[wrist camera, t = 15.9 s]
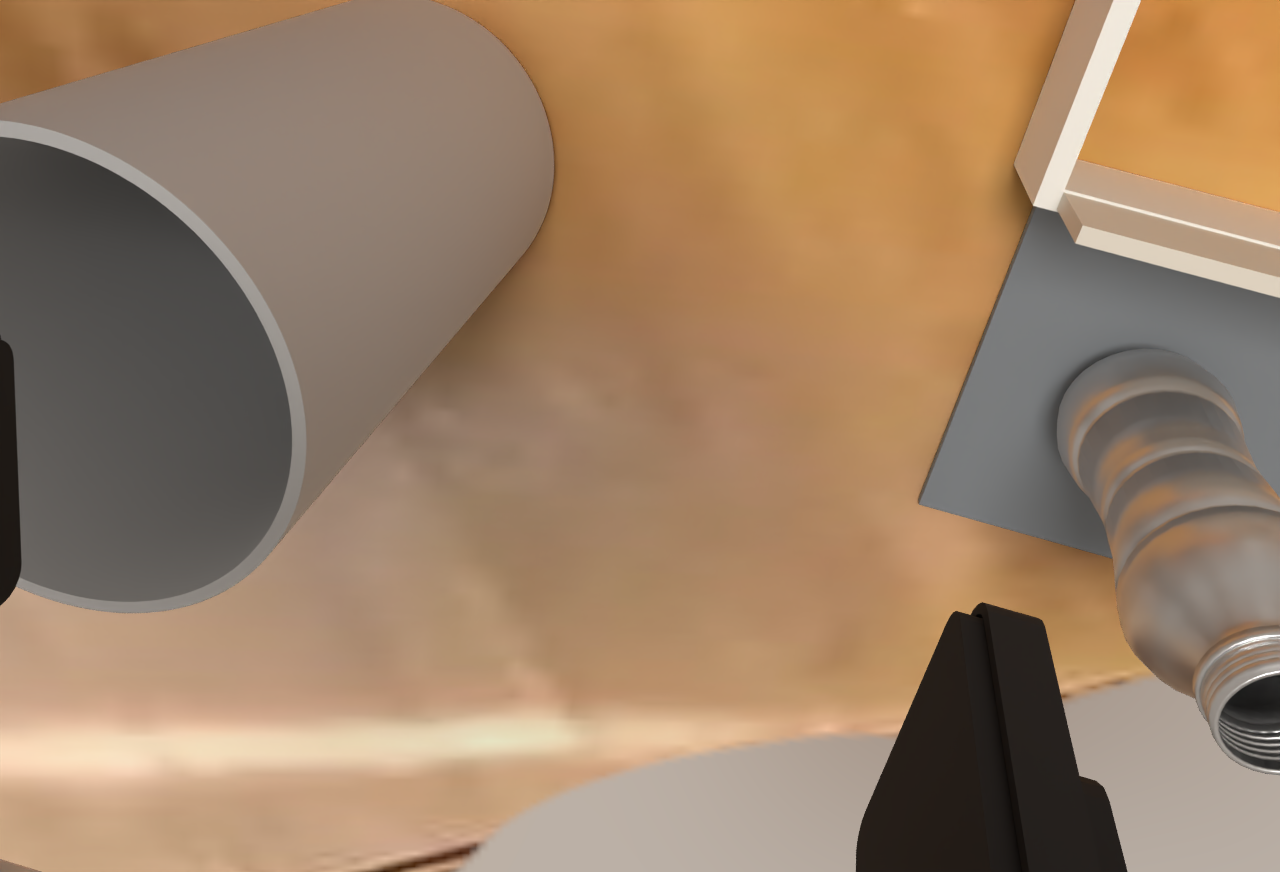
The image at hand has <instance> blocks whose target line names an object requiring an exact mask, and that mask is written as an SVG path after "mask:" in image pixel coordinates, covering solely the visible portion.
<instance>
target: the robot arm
mask: <svg viewBox="0 0 1280 872" xmlns="http://www.w3.org/2000/svg"><path fill="white" fill-rule="evenodd" d="M21 565H22V559H21V533H20V507H19V481H18V455H17V429H16V403H15V377H14V357H13V351H12V349H11V347H10V345H9V344H8V343H7V342H5V341H4V340H1V335H0V605H2V604H3V603H4V602H5V601H6V600H7V599H8V597H9V596H10V595H11V593H12V592H13V590H14V589H15V587H16V584H17V582H18V580H19V577H20V573H21ZM0 872H40V871H37V870H34V869H31V868H27V867H24V866H21V865H18V864H14V863H11V862H8V861H5V860H1V859H0ZM856 872H1127V869H1126V864H1125V860H1124V856H1123V853H1122V849H1121V845H1120V841H1119V837H1118V833H1117V829H1116V825H1115V821H1114V817H1113V813H1112V809H1111V806H1110V802H1109V799H1108V797H1107V794H1106V792H1105V789H1104V787H1103V786H1101V785H1100V784H1099V783H1098V782H1097V781H1095V780H1091V779H1088V778H1084V777H1081V776H1079V772H1078V768H1077V764H1076V760H1075V755H1074V751H1073V747H1072V742H1071V738H1070V734H1069V729H1068V725H1067V720H1066V716H1065V712H1064V707H1063V703H1062V699H1061V694H1060V690H1059V686H1058V681H1057V677H1056V673H1055V668H1054V664H1053V659H1052V655H1051V651H1050V646H1049V642H1048V638H1047V633H1046V629H1045V626H1044V623H1043V621H1042V620H1040V619H1039V618H1036V617H1032V616H1029V615H1025V614H1022V613H1018V612H1014V611H1011V610H1007V609H1004V608H1000V607H997V606H993V605H990V604H986V603H983V602H982V603H980V604H978V605H977V606H976V607H975V609H974V610H973V611H972V613H971V615H969V614H965V613H962V612H958V611H955V612H953V614H952V615H951V616H950V618H949V620H948V622H947V624H946V626H945V628H944V630H943V633H942V635H941V637H940V640H939V642H938V644H937V647H936V649H935V651H934V654H933V656H932V658H931V661H930V663H929V665H928V668H927V670H926V672H925V674H924V677H923V679H922V681H921V684H920V686H919V688H918V691H917V693H916V695H915V698H914V700H913V702H912V705H911V707H910V709H909V712H908V714H907V716H906V719H905V721H904V723H903V725H902V728H901V730H900V732H899V735H898V737H897V739H896V742H895V744H894V747H893V749H892V751H891V753H890V756H889V758H888V760H887V763H886V765H885V767H884V769H883V772H882V774H881V776H880V779H879V781H878V783H877V786H876V788H875V790H874V793H873V795H872V797H871V800H870V802H869V804H868V807H867V809H866V811H865V814H864V817H863V820H862V823H861V827H860V831H859V836H858V841H857V850H856Z"/></svg>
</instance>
